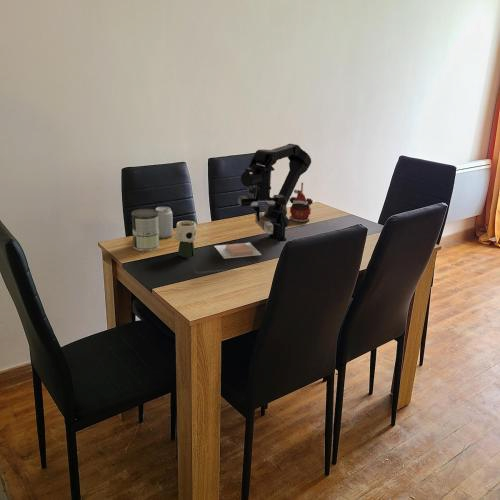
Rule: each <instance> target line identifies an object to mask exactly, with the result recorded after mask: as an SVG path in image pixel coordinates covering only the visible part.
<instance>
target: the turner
mask: <svg viewBox="0 0 500 500" xmlns="http://www.w3.org/2000/svg"><path fill="white" fill-rule="evenodd" d="M254 219H255V221H254V222H255V223H256V224H257V225H258V226H259V227H260V229H261V230H263V231H264V232H265V233H266V234H273V224H272V223H271V222H270V221H269V220H268V219H267V218H266V217H265V216H264V213H261V212H259V222H258V221H257V219H256V217H255V218H254Z"/></svg>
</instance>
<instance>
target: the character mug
mask: <svg viewBox="0 0 500 500" xmlns="http://www.w3.org/2000/svg"><path fill="white" fill-rule="evenodd" d="M196 238H197V225H196V222H195V221H193V220H192V221H191V220H181V221H177V223H176V231H175V239H176V240H177V241H179V243H178V244H179V245H178V252H177V254H178V256H179V257H181V258H191V257H193V256H195V255H196V254H195V253H196V251H195V245H194V241H196Z"/></svg>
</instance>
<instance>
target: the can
mask: <svg viewBox="0 0 500 500" xmlns="http://www.w3.org/2000/svg"><path fill="white" fill-rule="evenodd" d="M155 210H156V211H158V224H159V239H168V237H169V238H171V237H172V236H173V234H174V228H173V227H174V226H173V225H174V224H173V223H174V222H173V211H172V209H171V207H168V206H157V207H156V208H155Z"/></svg>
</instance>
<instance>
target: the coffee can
mask: <svg viewBox="0 0 500 500" xmlns="http://www.w3.org/2000/svg"><path fill="white" fill-rule="evenodd" d="M130 214H131V224H132V227H131V228H132V229H131V230H132V242H133V243H132V244H133V246H132V247H133V249H134V250H136V251H138V252H139V251H140V252H149V251H151V252H152V251H155V250H158V249H159V248H160V238H159V224H158V211H156V209H153V208H139V209H135V210H133V211H131V213H130Z"/></svg>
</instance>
